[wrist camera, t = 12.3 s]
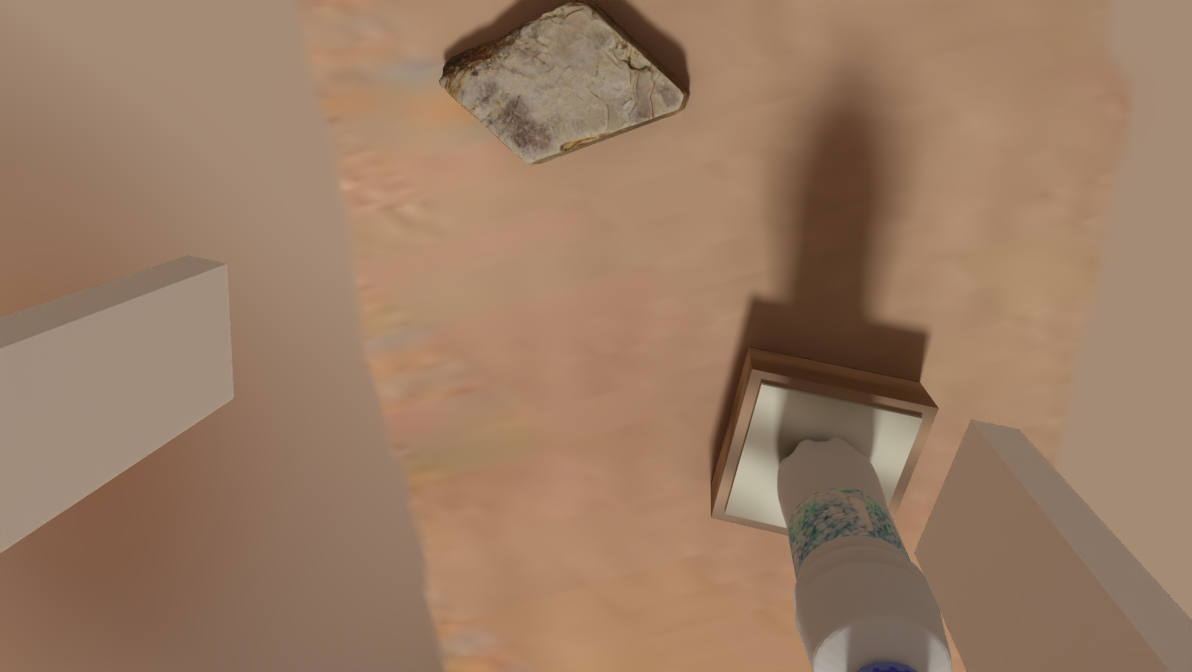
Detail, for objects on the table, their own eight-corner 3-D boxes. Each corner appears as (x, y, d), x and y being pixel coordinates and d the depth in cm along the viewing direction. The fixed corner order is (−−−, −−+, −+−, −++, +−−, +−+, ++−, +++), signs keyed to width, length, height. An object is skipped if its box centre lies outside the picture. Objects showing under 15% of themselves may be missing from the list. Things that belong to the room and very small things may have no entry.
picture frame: (748, 346, 47) (752, 371, 43) (920, 382, 46) (940, 410, 42) (710, 486, 52) (711, 520, 48) (866, 522, 51) (879, 559, 47)
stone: (487, 182, 46) (473, 188, 44) (441, 61, 44) (422, 59, 41) (694, 108, 43) (693, 110, 40) (655, -29, 40) (651, -37, 37)
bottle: (852, 522, 46) (950, 816, 28) (757, 495, 46) (791, 767, 28) (889, 440, 43) (1025, 704, 25) (789, 413, 44) (850, 652, 25)
